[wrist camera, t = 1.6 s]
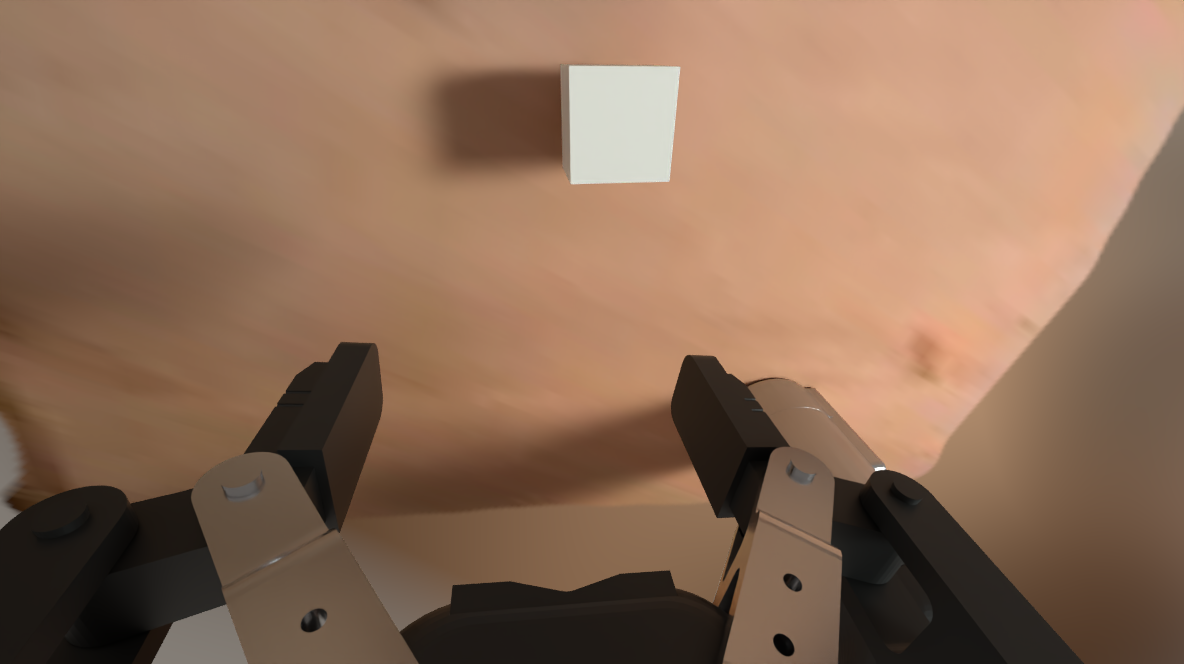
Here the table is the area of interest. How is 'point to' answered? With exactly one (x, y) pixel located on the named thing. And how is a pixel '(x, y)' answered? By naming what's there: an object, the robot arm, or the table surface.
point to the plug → (618, 122)
